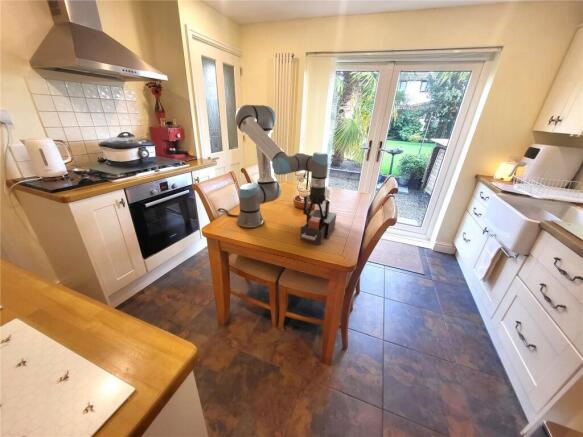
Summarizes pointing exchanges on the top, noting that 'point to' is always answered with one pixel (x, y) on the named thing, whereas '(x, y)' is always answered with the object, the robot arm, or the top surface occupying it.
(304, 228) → the grey drawer
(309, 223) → the block
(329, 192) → the milk
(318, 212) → the small drawer unit
